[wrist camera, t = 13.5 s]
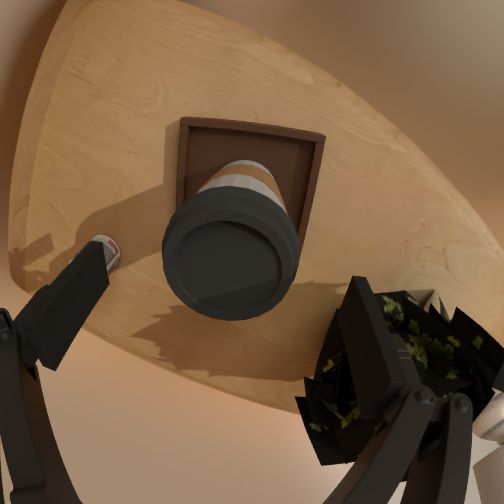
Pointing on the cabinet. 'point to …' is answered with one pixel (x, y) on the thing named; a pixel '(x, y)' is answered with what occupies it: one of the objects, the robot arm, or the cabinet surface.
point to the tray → (252, 159)
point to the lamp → (497, 462)
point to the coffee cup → (232, 245)
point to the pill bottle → (107, 251)
